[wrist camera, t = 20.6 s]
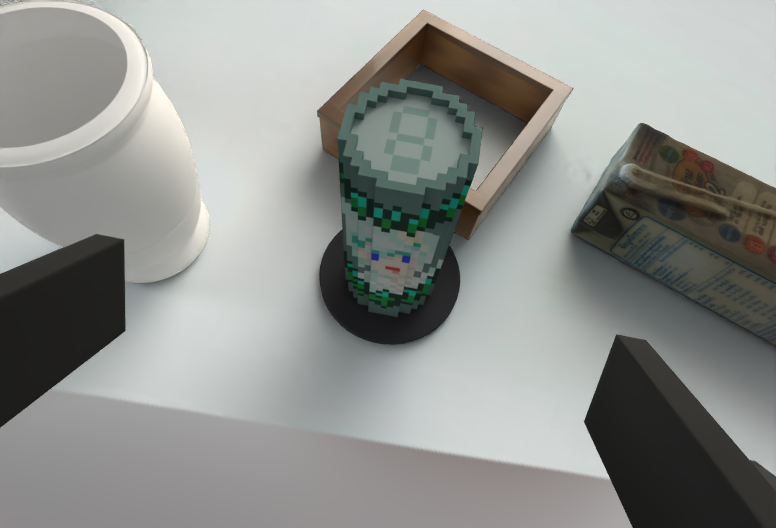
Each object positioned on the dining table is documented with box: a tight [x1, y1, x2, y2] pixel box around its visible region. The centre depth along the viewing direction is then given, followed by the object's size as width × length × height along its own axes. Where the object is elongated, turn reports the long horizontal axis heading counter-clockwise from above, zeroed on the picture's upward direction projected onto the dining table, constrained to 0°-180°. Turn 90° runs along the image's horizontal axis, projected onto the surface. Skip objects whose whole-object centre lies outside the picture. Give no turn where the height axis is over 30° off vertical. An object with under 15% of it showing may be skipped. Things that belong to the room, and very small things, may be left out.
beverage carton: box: [571, 123, 776, 345], centre depth 35 cm, size 8×19×7 cm, turn 56°
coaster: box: [320, 229, 460, 344], centre depth 35 cm, size 10×10×1 cm
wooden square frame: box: [317, 10, 573, 240], centre depth 39 cm, size 14×14×4 cm
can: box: [338, 79, 483, 317], centre depth 28 cm, size 6×6×15 cm
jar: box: [0, 0, 210, 283], centre depth 29 cm, size 11×10×15 cm
